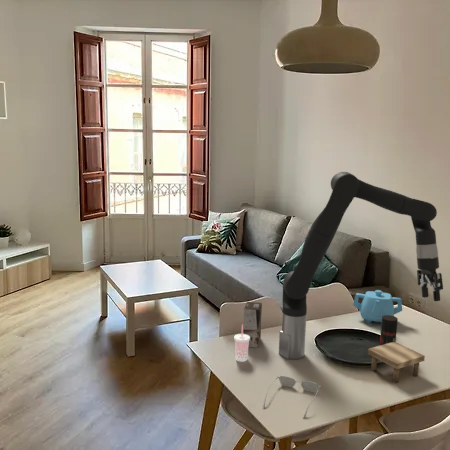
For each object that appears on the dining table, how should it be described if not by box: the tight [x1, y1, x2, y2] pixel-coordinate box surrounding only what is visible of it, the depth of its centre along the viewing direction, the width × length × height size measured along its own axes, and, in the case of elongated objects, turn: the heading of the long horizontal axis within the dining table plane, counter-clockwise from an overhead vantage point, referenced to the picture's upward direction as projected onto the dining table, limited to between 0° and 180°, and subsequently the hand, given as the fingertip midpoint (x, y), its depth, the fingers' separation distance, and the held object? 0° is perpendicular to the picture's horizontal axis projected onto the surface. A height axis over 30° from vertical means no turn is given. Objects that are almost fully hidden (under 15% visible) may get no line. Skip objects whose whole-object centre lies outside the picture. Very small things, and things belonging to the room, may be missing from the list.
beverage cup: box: [233, 323, 250, 363], centre depth 203 cm, size 6×6×14 cm
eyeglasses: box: [262, 375, 322, 420], centre depth 174 cm, size 15×18×4 cm
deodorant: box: [379, 315, 399, 346], centre depth 210 cm, size 6×6×15 cm
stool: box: [367, 341, 425, 384], centre depth 195 cm, size 14×14×8 cm
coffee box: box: [243, 301, 263, 348], centre depth 218 cm, size 9×6×16 cm
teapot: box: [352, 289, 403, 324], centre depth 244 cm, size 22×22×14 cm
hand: (431, 299), depth 198 cm, fingers open, 8 cm apart
